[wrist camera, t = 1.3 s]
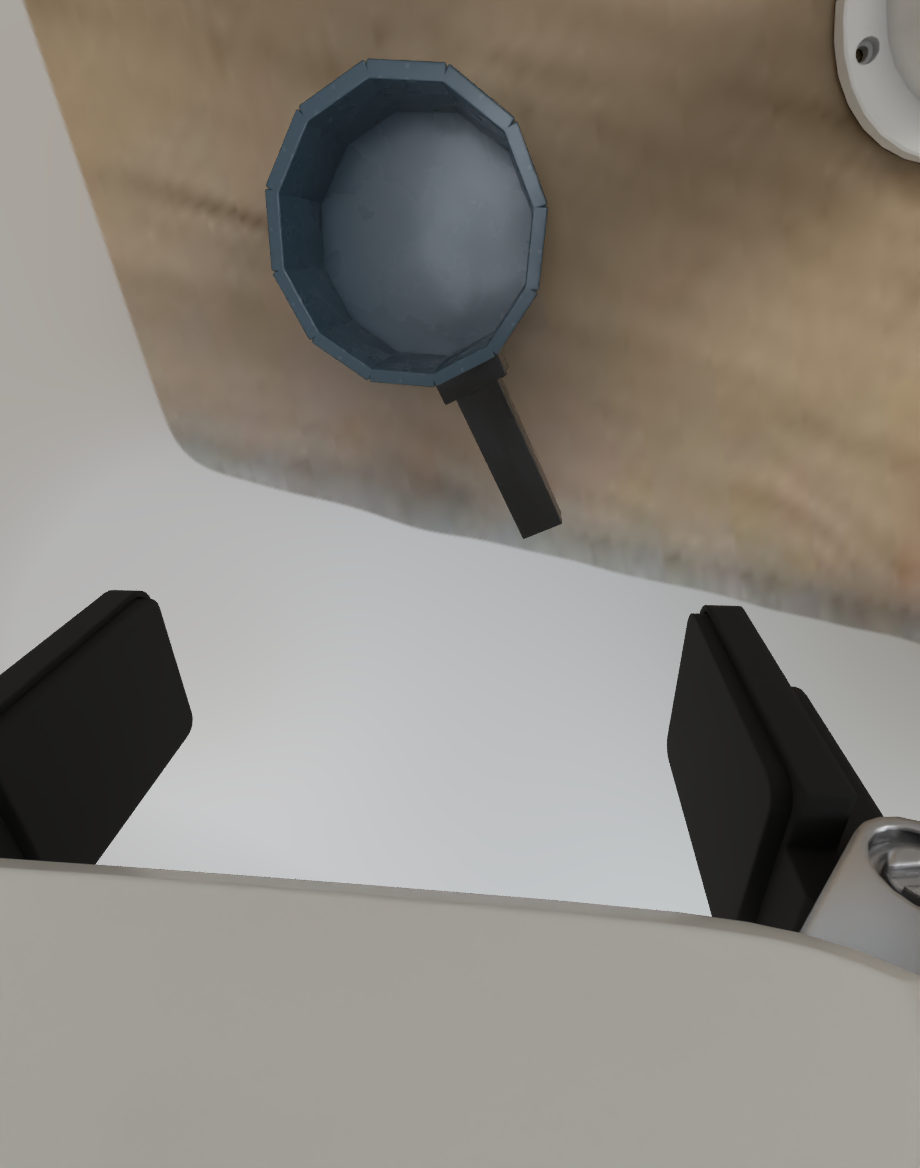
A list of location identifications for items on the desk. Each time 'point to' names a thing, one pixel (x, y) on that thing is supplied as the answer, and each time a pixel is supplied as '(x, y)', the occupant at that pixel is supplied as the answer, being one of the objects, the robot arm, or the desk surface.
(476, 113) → the saucepan
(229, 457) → the desk surface
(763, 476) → the desk surface
